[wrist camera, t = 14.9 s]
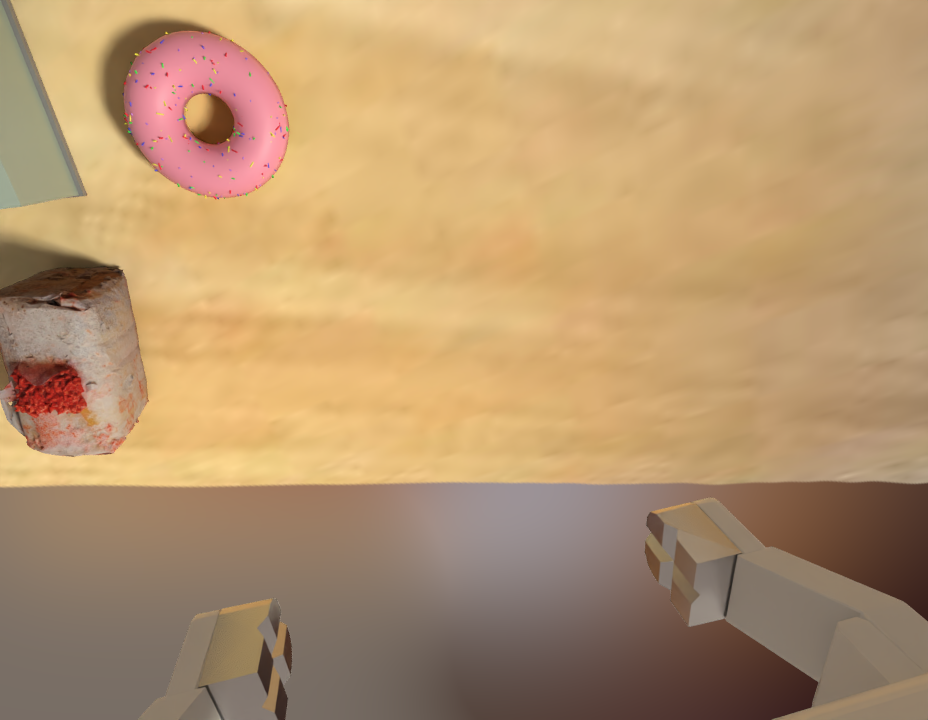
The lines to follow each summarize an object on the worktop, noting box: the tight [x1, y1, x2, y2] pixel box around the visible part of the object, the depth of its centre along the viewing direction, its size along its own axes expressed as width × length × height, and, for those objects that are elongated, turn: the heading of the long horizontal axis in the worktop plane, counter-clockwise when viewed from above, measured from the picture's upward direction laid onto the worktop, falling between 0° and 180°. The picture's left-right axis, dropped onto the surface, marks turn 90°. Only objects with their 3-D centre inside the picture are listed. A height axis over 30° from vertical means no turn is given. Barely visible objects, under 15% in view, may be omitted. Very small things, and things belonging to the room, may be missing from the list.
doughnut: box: [122, 31, 289, 199], centre depth 36 cm, size 11×11×4 cm
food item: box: [0, 267, 149, 457], centre depth 38 cm, size 14×8×10 cm, turn 176°
